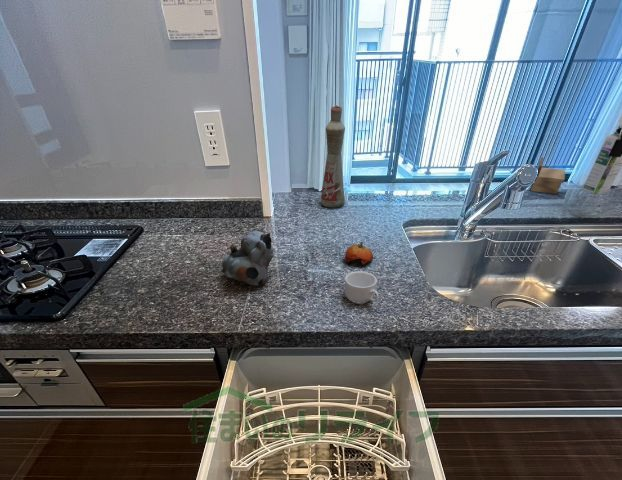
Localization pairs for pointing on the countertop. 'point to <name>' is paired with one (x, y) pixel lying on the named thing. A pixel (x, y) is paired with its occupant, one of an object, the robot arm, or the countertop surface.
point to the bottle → (334, 162)
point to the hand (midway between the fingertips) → (613, 152)
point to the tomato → (358, 253)
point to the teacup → (360, 287)
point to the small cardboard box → (548, 179)
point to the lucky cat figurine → (250, 259)
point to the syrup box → (603, 168)
